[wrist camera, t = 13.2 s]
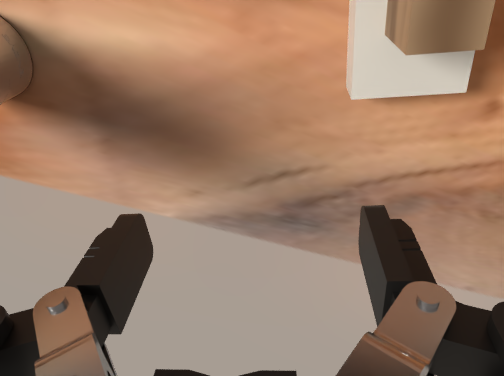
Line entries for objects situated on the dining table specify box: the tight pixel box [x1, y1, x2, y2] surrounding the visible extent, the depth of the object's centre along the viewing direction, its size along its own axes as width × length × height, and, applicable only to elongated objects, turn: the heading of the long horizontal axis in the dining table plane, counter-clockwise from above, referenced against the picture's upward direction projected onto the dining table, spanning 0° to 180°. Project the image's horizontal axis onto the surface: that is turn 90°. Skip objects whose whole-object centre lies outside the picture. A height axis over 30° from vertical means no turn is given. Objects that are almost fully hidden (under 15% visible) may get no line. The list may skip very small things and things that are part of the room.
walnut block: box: [385, 0, 495, 55], centre depth 27 cm, size 5×5×7 cm
